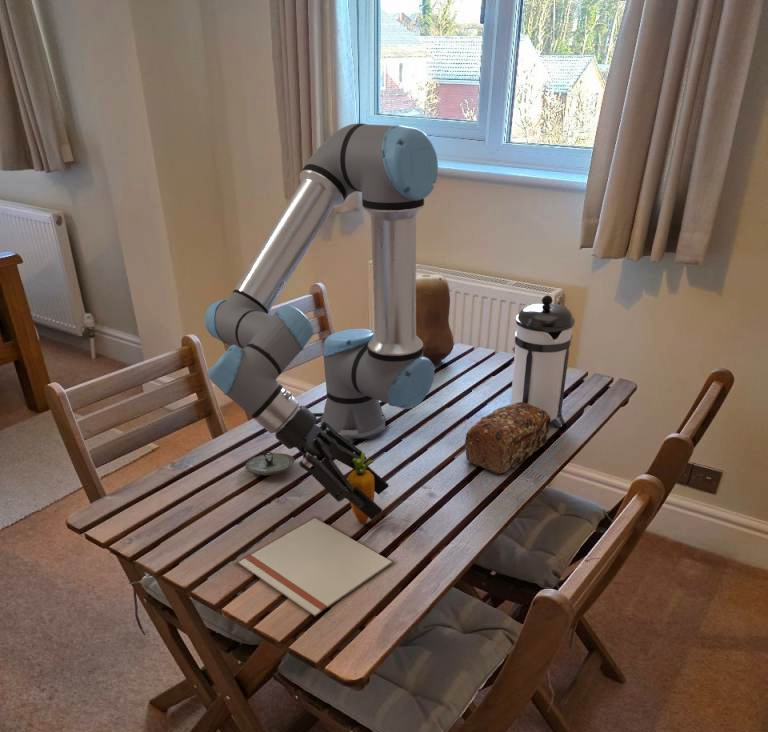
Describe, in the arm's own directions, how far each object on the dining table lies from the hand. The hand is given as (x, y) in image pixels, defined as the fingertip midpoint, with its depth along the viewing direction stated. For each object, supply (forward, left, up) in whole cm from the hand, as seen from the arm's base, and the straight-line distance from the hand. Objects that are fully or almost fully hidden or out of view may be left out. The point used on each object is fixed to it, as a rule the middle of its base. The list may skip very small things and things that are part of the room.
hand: (380, 501), depth 127 cm
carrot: (-3, -2, -6) cm, 7 cm away
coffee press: (-4, +57, -6) cm, 57 cm away
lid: (-32, -1, -6) cm, 32 cm away
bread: (+2, +38, -6) cm, 39 cm away
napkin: (-1, -16, -5) cm, 17 cm away
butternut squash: (-45, +67, -6) cm, 81 cm away
